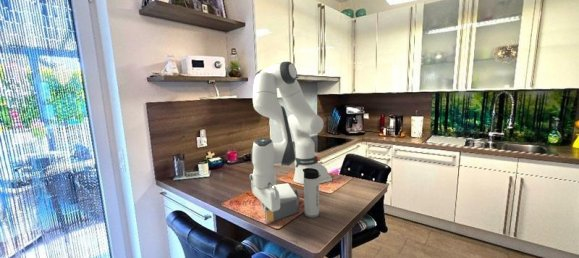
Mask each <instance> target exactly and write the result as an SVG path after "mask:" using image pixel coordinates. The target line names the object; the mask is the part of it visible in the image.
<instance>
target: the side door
mask: <svg viewBox="0 0 579 258" xmlns="http://www.w3.org/2000/svg"><path fill="white" fill-rule="evenodd" d="M297 213H299V197H298V198H295V199H292V200H289V201H286V202H283V203H280V209H279V210H277V211H273V212H272V211H270V210H269V209H268V208H265V213H264V216H265V217H264V218H265V219H264V220H265V221H264V222H265V223H266V224H270V223H272V222H275V221H279V220H280V219H283V218H286V217H289V216H291V215H295V214H297Z"/></svg>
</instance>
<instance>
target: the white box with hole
mask: <svg viewBox="0 0 579 258" xmlns="http://www.w3.org/2000/svg"><path fill="white" fill-rule="evenodd" d="M274 186H275V188H276V189H277V190H278V192H279V197H280V203H283V202H286V201H289V200H292V199H295V198H298V199H299V193H298V190H297V189H293V188H292V187H291V185H290V184H289V182H288V183H279V184H278V183H277V184H275V185H274Z"/></svg>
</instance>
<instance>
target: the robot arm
mask: <svg viewBox="0 0 579 258" xmlns="http://www.w3.org/2000/svg"><path fill="white" fill-rule="evenodd" d="M297 77H298V72H297V68H296V66H295V65H294V63H292V62H291V61H283V62H280V63H275V64H272V65H270V66H268V67H266V68H263V69H261V70H258V71H257V72H256V73H255V75H254V80H253V86H252V104H253V105H252V106H253V109H254V110H255V112H257V113H258V114H259V115H261V116H263V117H266V118H269V119H271V120H274V121H276V122H277V123H278V125H279V128H280V133H281V136H282V137H281V138H282V141H280V142H273V139H271V138H268V137H259V138H257V139H255V140H254V141H253V144H252V148H251V150H250V162H251V164H252V165H253V170H252V173H250V174H249V179H250V186H251V192H252V194H253V195H254V196H255V197H256V198H257V199H258V200H259V201H260V205H261V207H262V212H263V213H264V214H265V208H268V209H269V210H270V211H272V212H273V211H277V210H279V209H280V197H279V192H278V190H277V189H276V188H275V186H274V185H277V184H276V183H277V182H276V180H277V178H276V175H277V174H276V168H275V166H282V167H283V166H285V167H286V166H287V167H289V166H291V165H292V164H294V166H295V168H294V176H293V182H294V183H297V184H301V185H304V172H303V169H305V168H313V169H317V170H318V171H319V185H320V184H324V183H329V182H332V181H333V178H332V176H331V175H330V174H329V172H328V169H327V168H326V166H325V165H323V164H322V163H320V161H321V160H322V158H321V157H319V156H316V152H315V142H314V140H313V139H312V138H311V135H318V134H320V133H321V132H322V131H323V128H324V119H323V118H322V117H321V116H319V114H317V113H316V112H315V111H314V110H313V108H312V107H311V106H310V104H309V103H308V101H307V100H306V97H305V95H304V93H303V90H302V87H301V86H300V85H301V84H300V83H299V81H298V79H297ZM278 90H279V93H280V95H281V98H282V100H283V103H284V105H285V107H286V109H287V110H288V111H289V112H290V113H291V114H289V115H288V116H287V111H286V109H285V107H284V106H283V105H281V104H280V102H279V100H278ZM293 141H294V142H293Z"/></svg>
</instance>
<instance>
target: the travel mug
mask: <svg viewBox="0 0 579 258" xmlns="http://www.w3.org/2000/svg"><path fill="white" fill-rule="evenodd" d="M303 172H304V184H303V198H304V199H303V200H304V201H303V205H304V206H303V207H304V208H303V209H304V212H303V213H304V216H306V217H307V218H310V219H311V218H312V219H314V218H317V217H319V215H320V184H319V171H318V170H317V169H313V168H305V169H303Z"/></svg>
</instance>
